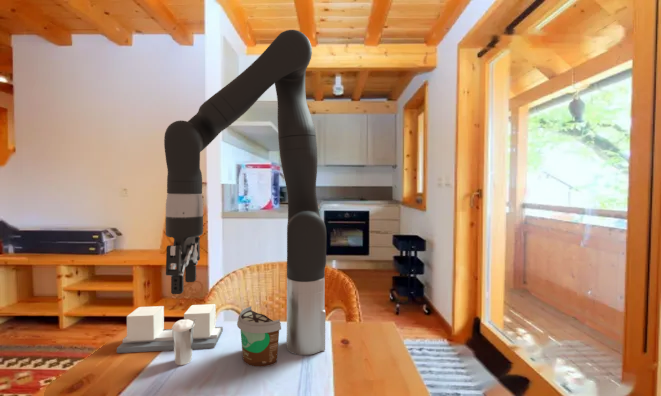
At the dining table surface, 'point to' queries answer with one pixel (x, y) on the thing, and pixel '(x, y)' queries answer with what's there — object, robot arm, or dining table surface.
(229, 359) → the dining table surface
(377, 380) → the dining table surface
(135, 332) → the twin block base plate
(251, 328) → the food container
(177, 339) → the milkshake
